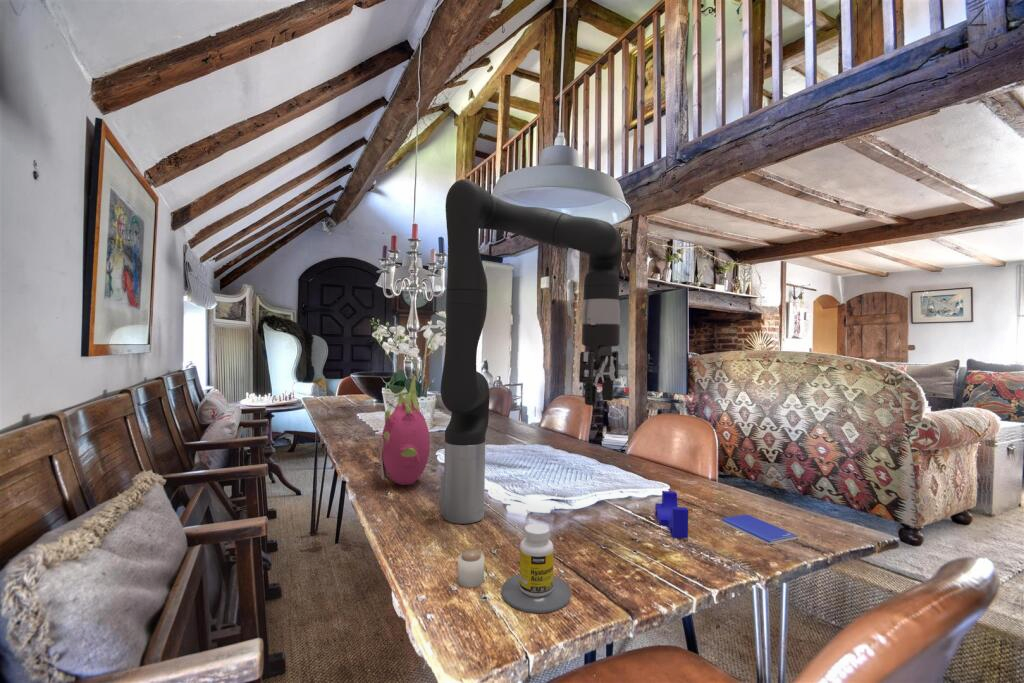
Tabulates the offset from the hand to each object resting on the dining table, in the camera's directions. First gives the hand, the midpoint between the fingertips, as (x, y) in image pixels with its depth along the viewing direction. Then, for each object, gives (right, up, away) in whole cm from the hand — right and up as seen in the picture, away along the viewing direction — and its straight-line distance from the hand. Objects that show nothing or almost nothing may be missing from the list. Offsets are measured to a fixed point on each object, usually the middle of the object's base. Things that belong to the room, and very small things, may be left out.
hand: (599, 402), depth 95 cm
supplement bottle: (-14, -28, -20) cm, 37 cm away
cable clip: (+17, -29, +8) cm, 35 cm away
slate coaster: (-14, -28, -20) cm, 37 cm away
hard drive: (+36, -29, +7) cm, 47 cm away
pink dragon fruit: (-48, -27, +35) cm, 65 cm away
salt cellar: (-25, -28, -16) cm, 41 cm away
